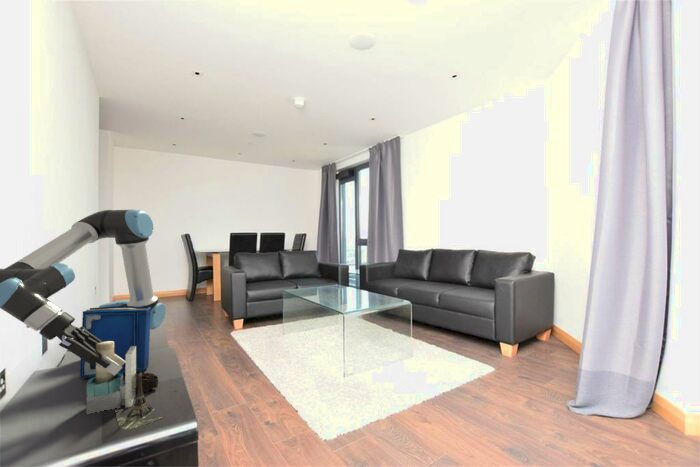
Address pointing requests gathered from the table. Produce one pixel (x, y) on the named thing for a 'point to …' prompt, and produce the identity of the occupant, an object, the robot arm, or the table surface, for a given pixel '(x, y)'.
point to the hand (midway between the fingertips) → (120, 368)
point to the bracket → (114, 388)
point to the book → (119, 333)
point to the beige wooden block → (107, 350)
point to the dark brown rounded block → (147, 381)
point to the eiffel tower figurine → (137, 411)
